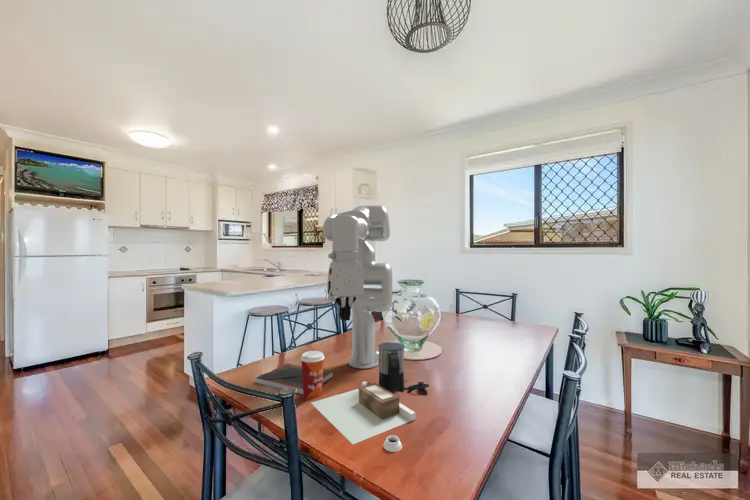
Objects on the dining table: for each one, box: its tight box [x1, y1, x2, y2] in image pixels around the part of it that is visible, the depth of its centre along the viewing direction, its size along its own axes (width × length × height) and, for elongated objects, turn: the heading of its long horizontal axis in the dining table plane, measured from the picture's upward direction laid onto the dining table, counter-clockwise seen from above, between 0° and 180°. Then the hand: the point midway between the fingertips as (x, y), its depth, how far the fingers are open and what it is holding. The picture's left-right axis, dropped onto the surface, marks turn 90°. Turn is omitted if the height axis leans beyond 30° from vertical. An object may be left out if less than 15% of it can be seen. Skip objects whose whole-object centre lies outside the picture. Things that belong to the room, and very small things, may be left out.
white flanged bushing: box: [382, 435, 403, 453], centre depth 75 cm, size 5×3×5 cm
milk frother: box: [377, 341, 430, 393], centre depth 108 cm, size 14×16×15 cm
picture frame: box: [255, 363, 333, 395], centre depth 116 cm, size 16×2×22 cm
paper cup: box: [300, 350, 325, 401], centre depth 102 cm, size 8×8×14 cm
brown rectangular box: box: [358, 382, 400, 420], centre depth 93 cm, size 12×6×5 cm, turn 35°
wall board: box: [310, 380, 416, 445], centre depth 91 cm, size 20×25×5 cm
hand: (344, 319), depth 93 cm, fingers closed
